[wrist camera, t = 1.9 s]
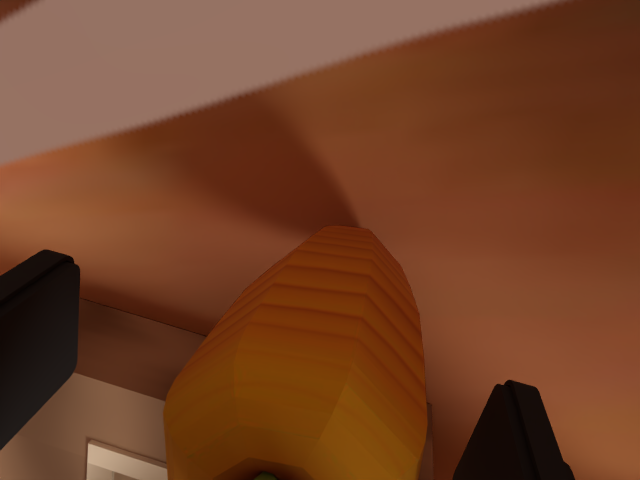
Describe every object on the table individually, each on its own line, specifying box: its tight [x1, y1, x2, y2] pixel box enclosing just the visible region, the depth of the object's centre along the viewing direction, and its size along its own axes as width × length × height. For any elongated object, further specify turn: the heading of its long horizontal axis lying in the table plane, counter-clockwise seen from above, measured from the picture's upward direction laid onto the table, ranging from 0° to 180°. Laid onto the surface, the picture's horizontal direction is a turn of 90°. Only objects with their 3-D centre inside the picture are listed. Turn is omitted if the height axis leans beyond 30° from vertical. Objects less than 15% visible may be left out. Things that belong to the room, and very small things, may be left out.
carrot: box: [163, 225, 428, 480], centre depth 12 cm, size 5×5×15 cm
